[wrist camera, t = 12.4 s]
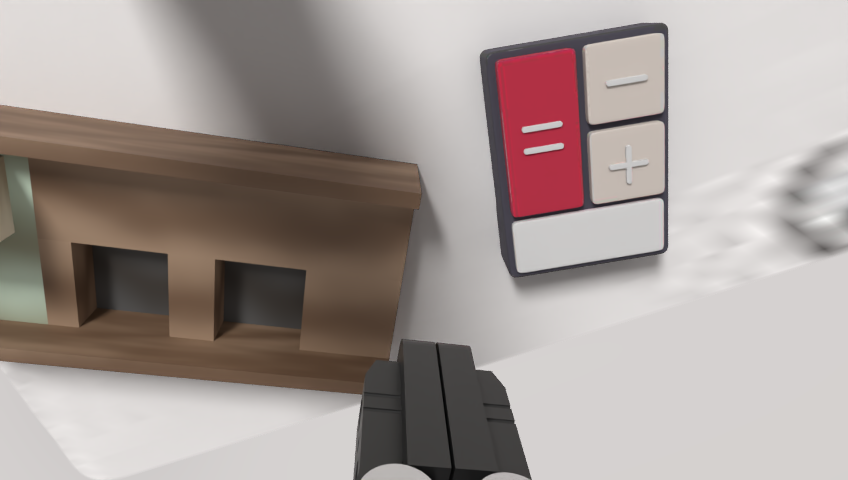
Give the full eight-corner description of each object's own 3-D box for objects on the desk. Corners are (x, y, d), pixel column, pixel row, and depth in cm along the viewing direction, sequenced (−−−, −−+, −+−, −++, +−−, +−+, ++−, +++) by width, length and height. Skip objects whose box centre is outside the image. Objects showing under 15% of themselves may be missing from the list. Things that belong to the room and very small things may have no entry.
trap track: (-78, 93, 35) (-165, 113, 29) (416, 164, 38) (421, 193, 33) (-38, 302, 41) (-104, 351, 35) (387, 346, 44) (386, 396, 39)
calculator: (675, 21, 32) (674, 257, 38) (644, 21, 36) (647, 235, 42) (486, 53, 32) (512, 284, 38) (476, 50, 36) (501, 259, 42)
